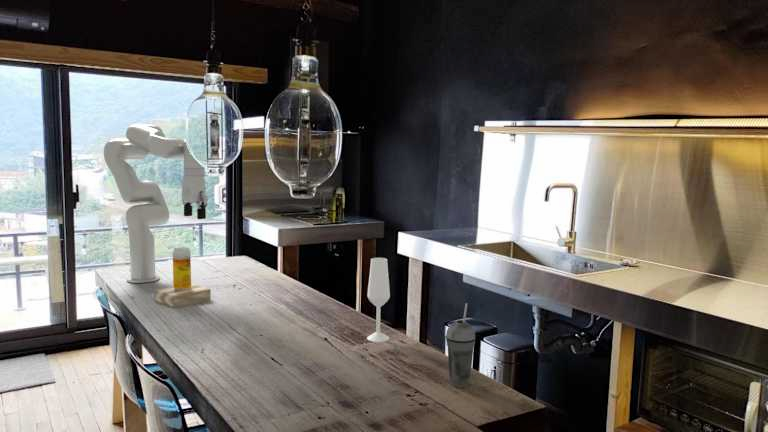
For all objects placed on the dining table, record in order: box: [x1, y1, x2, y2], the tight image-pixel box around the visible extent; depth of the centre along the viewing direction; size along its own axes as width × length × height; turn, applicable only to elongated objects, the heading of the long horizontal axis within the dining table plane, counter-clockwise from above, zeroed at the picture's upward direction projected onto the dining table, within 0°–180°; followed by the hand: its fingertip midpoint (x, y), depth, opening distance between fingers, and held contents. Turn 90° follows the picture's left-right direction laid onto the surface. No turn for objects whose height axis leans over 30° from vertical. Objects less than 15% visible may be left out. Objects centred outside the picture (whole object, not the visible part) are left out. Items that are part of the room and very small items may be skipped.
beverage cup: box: [445, 302, 477, 388], centre depth 138 cm, size 7×7×20 cm
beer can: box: [172, 247, 192, 291], centre depth 209 cm, size 6×6×15 cm
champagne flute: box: [366, 257, 391, 343], centre depth 170 cm, size 7×7×24 cm
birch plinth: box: [154, 283, 212, 309], centre depth 210 cm, size 14×14×4 cm
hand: (194, 217), depth 219 cm, fingers open, 9 cm apart
